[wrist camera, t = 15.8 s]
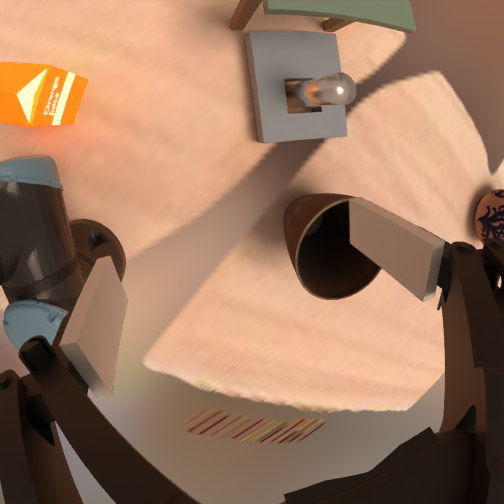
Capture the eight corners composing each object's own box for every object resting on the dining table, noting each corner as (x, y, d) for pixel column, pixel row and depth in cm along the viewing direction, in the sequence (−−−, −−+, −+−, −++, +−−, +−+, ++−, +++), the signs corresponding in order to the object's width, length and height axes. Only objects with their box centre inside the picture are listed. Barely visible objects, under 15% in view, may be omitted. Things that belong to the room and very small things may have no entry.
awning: (337, 54, 40) (416, 31, 22) (234, 55, 38) (268, 9, 19) (331, 20, 37) (405, -16, 19) (229, 18, 35) (259, -44, 16)
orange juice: (46, 73, 31) (-23, 56, 13) (88, 79, 34) (29, 56, 16) (33, 117, 34) (-41, 123, 16) (74, 124, 37) (7, 131, 19)
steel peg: (304, 85, 42) (354, 73, 28) (306, 107, 44) (357, 105, 29) (281, 86, 41) (324, 71, 27) (284, 109, 43) (327, 104, 29)
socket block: (335, 135, 46) (347, 136, 43) (257, 141, 45) (263, 143, 41) (324, 38, 38) (335, 33, 35) (244, 38, 37) (249, 31, 33)
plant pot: (287, 160, 47) (331, 178, 33) (353, 195, 52) (407, 224, 38) (249, 238, 51) (275, 284, 37) (317, 263, 57) (357, 309, 42)
